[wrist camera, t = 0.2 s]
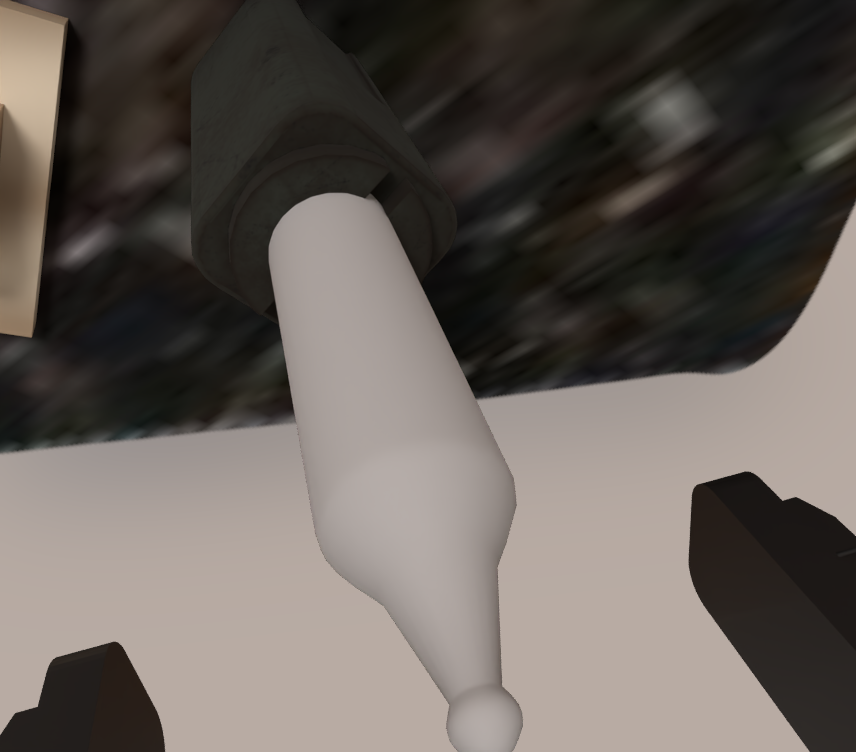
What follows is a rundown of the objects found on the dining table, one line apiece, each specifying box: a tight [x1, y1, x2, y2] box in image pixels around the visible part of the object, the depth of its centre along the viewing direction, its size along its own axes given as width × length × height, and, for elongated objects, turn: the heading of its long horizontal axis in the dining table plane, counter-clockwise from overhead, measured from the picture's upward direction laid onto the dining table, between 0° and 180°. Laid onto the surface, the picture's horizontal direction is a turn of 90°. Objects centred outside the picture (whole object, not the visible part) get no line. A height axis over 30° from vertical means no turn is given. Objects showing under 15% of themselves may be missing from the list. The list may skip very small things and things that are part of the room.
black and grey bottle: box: [191, 0, 523, 752], centre depth 18 cm, size 5×5×25 cm
